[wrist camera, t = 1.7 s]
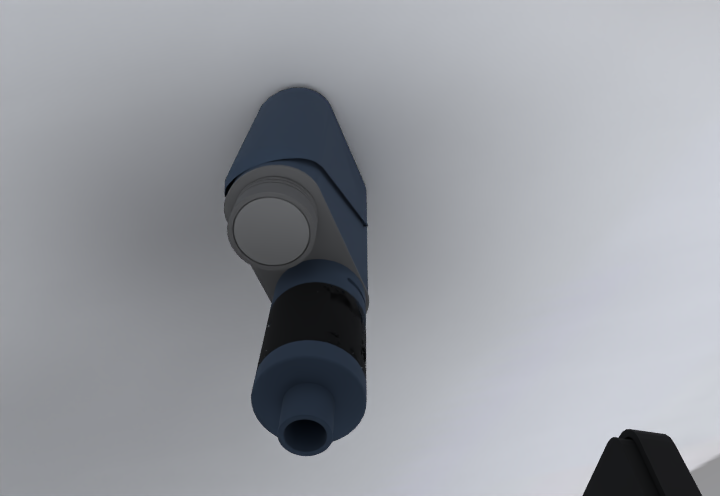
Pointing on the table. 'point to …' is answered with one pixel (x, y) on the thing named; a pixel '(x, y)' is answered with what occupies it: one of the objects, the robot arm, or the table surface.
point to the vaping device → (304, 268)
